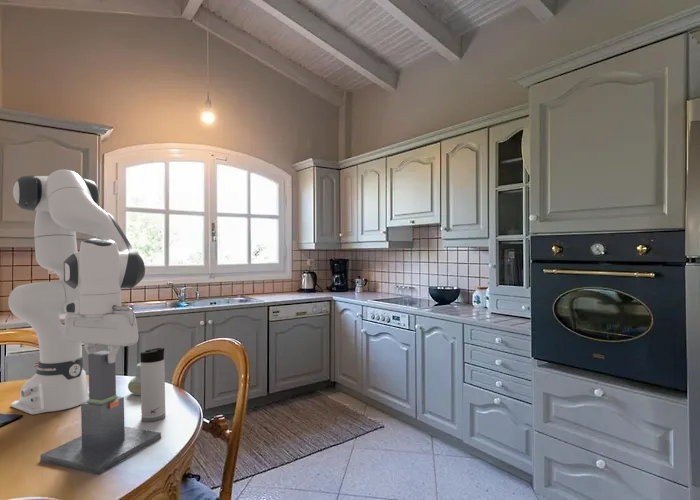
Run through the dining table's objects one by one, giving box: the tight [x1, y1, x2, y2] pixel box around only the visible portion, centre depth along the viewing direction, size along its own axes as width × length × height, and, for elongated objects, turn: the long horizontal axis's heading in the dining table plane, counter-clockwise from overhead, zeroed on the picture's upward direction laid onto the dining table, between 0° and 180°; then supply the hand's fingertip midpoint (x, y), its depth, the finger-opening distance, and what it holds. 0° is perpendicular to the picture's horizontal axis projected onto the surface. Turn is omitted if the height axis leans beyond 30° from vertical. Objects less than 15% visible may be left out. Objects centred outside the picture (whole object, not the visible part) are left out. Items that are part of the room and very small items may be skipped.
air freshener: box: [127, 362, 141, 397], centre depth 144 cm, size 11×8×10 cm
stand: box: [39, 395, 162, 475], centre depth 104 cm, size 18×18×12 cm
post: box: [87, 350, 118, 405], centre depth 104 cm, size 4×4×16 cm
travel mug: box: [139, 347, 166, 423], centre depth 123 cm, size 6×7×20 cm
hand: (102, 361), depth 104 cm, fingers closed on post, 4 cm apart
